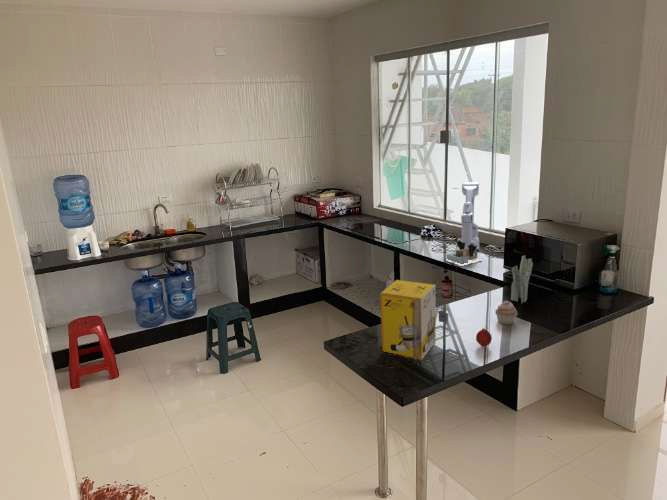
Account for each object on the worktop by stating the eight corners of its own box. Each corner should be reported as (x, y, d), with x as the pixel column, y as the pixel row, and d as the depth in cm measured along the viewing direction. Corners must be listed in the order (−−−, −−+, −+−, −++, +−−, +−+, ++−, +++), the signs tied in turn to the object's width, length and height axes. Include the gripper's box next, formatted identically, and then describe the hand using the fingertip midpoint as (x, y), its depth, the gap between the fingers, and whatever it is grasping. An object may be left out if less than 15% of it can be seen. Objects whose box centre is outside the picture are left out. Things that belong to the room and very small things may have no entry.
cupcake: (507, 328, 210) (508, 306, 207) (490, 321, 218) (490, 300, 215) (522, 322, 214) (523, 301, 211) (504, 315, 222) (505, 294, 219)
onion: (479, 341, 200) (480, 323, 197) (493, 345, 196) (494, 326, 194) (473, 347, 195) (473, 329, 193) (487, 351, 192) (488, 332, 190)
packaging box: (422, 360, 188) (421, 299, 181) (382, 352, 196) (380, 293, 189) (435, 342, 202) (435, 284, 195) (398, 335, 209) (396, 279, 202)
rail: (472, 256, 305) (472, 246, 304) (476, 257, 302) (477, 248, 300) (455, 260, 299) (456, 250, 298) (460, 261, 296) (460, 252, 294)
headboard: (465, 256, 309) (465, 249, 308) (481, 261, 297) (482, 254, 296) (445, 261, 302) (445, 254, 301) (461, 266, 290) (461, 259, 289)
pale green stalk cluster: (520, 311, 226) (522, 269, 220) (504, 308, 229) (506, 267, 224) (533, 291, 248) (535, 252, 242) (518, 289, 251) (520, 251, 246)
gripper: (453, 231, 301) (453, 253, 304) (470, 236, 288) (470, 259, 292) (462, 230, 304) (462, 251, 307) (479, 234, 291) (479, 256, 295)
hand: (466, 254), depth 300 cm, fingers open, 7 cm apart
